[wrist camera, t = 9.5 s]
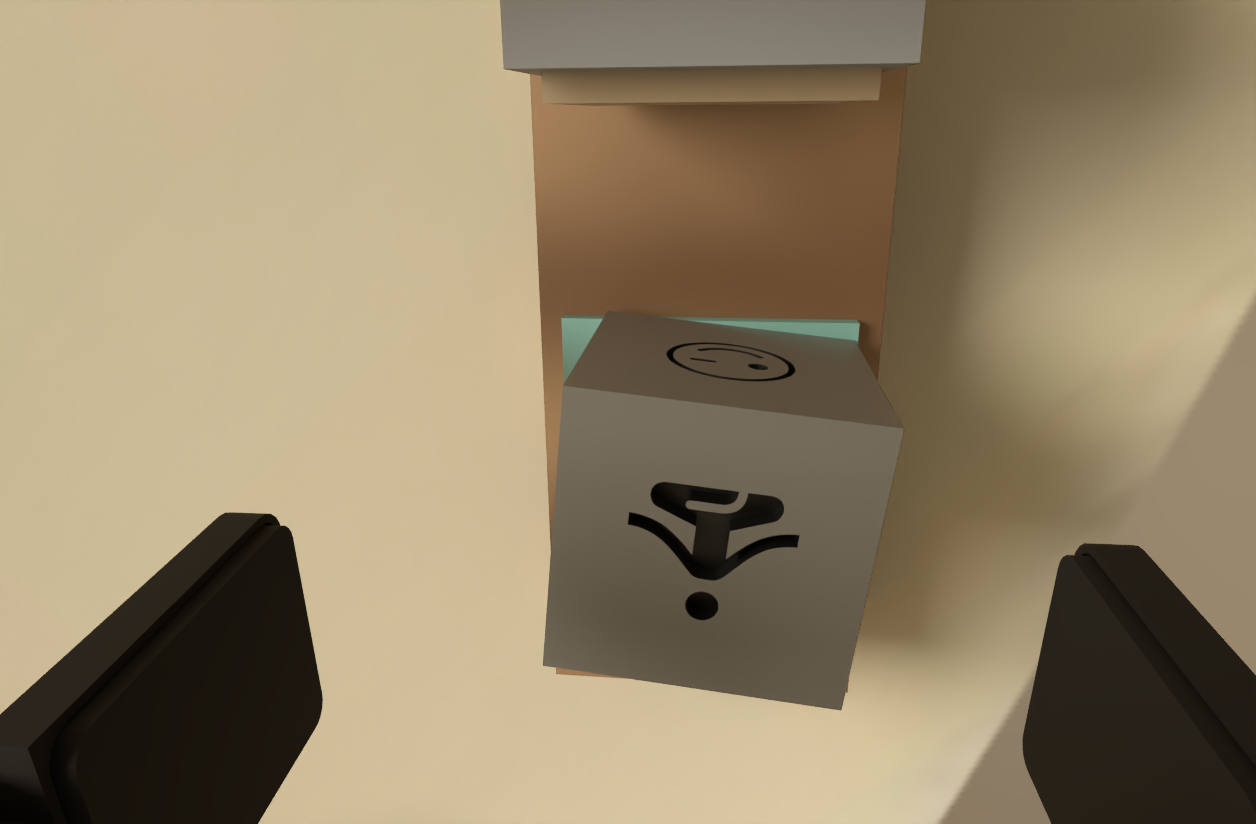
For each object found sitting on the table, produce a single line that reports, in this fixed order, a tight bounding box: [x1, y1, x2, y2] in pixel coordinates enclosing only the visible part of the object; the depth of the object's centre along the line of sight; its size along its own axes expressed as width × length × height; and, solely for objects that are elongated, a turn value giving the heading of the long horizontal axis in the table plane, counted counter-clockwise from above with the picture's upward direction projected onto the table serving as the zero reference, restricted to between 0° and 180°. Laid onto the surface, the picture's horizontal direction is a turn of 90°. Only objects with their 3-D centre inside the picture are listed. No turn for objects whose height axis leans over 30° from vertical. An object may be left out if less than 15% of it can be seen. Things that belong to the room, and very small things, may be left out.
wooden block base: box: [500, 0, 926, 692], centre depth 16 cm, size 20×7×9 cm, turn 0°
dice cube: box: [543, 311, 904, 710], centre depth 16 cm, size 5×5×5 cm
